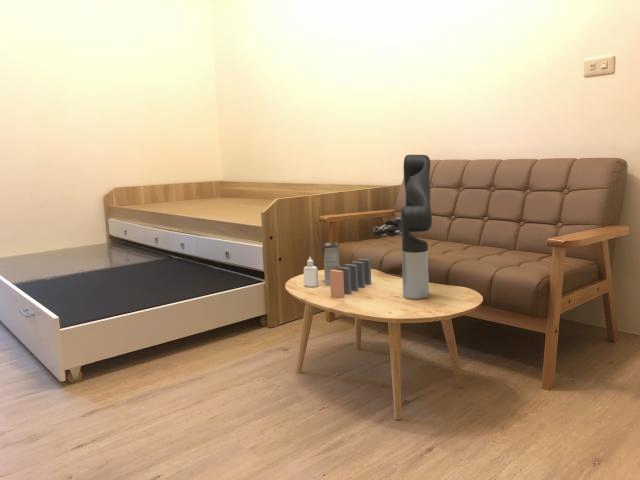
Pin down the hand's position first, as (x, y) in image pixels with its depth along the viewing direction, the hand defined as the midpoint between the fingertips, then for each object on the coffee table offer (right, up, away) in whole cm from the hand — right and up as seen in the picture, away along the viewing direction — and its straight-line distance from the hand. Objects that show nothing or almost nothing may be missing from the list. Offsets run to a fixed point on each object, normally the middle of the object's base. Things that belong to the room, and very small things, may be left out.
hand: (376, 233), depth 220 cm
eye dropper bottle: (-27, -21, -4) cm, 35 cm away
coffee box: (-18, -20, 0) cm, 27 cm away
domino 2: (-14, -23, -16) cm, 31 cm away
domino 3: (-11, -22, -13) cm, 28 cm away
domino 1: (-17, -24, -20) cm, 36 cm away
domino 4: (-8, -21, -9) cm, 24 cm away
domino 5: (-5, -20, -5) cm, 21 cm away
